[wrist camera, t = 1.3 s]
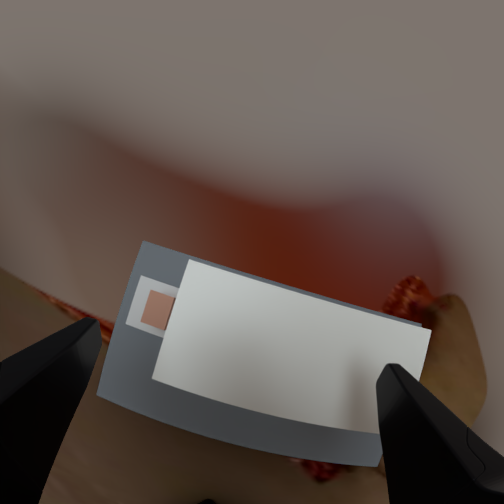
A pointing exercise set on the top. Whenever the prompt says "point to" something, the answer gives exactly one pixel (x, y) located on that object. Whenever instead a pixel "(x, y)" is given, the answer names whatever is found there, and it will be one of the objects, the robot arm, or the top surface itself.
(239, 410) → the plate
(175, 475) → the top surface
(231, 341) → the block
